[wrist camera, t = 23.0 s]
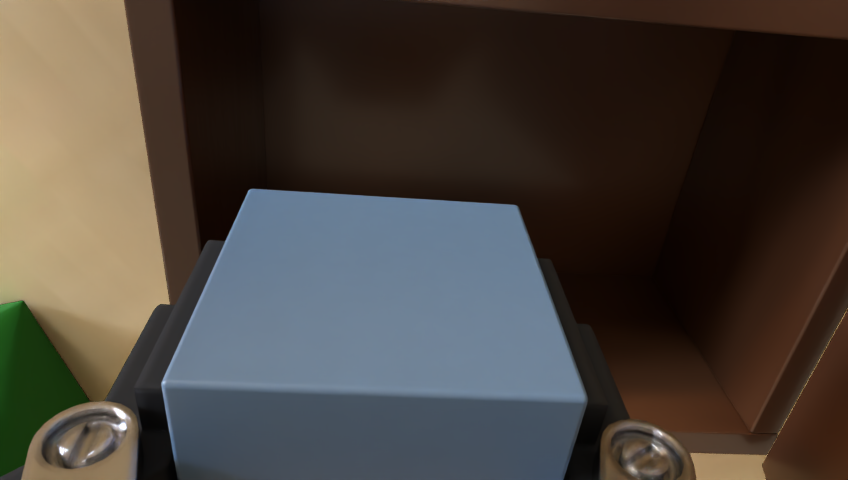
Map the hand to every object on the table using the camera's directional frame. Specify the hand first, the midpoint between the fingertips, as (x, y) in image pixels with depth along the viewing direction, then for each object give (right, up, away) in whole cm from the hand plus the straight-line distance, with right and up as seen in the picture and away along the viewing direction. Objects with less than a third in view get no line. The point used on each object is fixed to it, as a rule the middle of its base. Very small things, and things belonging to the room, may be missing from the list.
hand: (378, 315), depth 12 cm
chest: (+3, +6, +10) cm, 12 cm away
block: (0, 0, 0) cm, 0 cm away
